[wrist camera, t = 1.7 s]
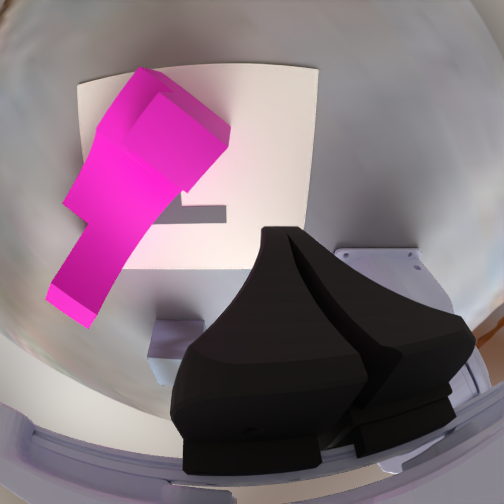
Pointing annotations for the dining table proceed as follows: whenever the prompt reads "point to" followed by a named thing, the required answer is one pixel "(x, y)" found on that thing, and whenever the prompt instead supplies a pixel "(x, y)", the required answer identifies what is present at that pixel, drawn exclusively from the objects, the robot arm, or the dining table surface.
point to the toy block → (132, 182)
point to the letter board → (228, 163)
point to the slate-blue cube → (171, 346)
